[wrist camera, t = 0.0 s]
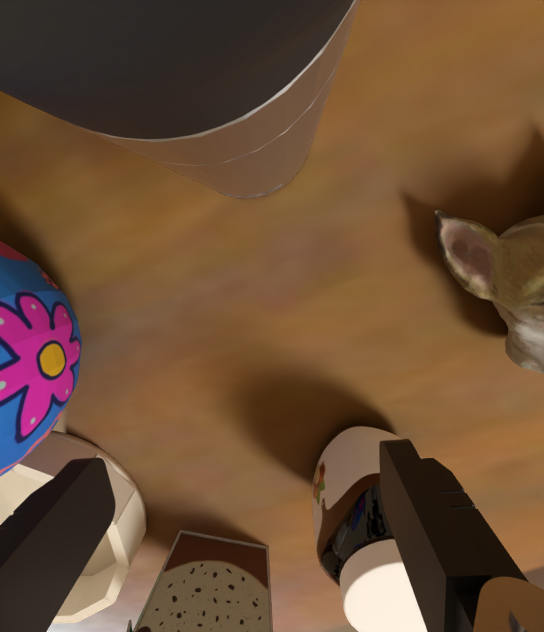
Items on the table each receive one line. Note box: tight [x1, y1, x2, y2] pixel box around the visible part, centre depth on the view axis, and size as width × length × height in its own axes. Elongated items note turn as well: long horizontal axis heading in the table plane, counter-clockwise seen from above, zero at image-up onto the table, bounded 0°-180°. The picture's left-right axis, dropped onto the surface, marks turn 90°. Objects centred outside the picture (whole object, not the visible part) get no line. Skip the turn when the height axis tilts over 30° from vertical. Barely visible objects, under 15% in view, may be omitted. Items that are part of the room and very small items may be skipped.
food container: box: [127, 530, 273, 632], centre depth 29 cm, size 12×6×10 cm, turn 79°
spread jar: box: [312, 425, 427, 632], centre depth 24 cm, size 12×11×12 cm
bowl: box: [0, 430, 146, 623], centre depth 30 cm, size 19×19×4 cm
